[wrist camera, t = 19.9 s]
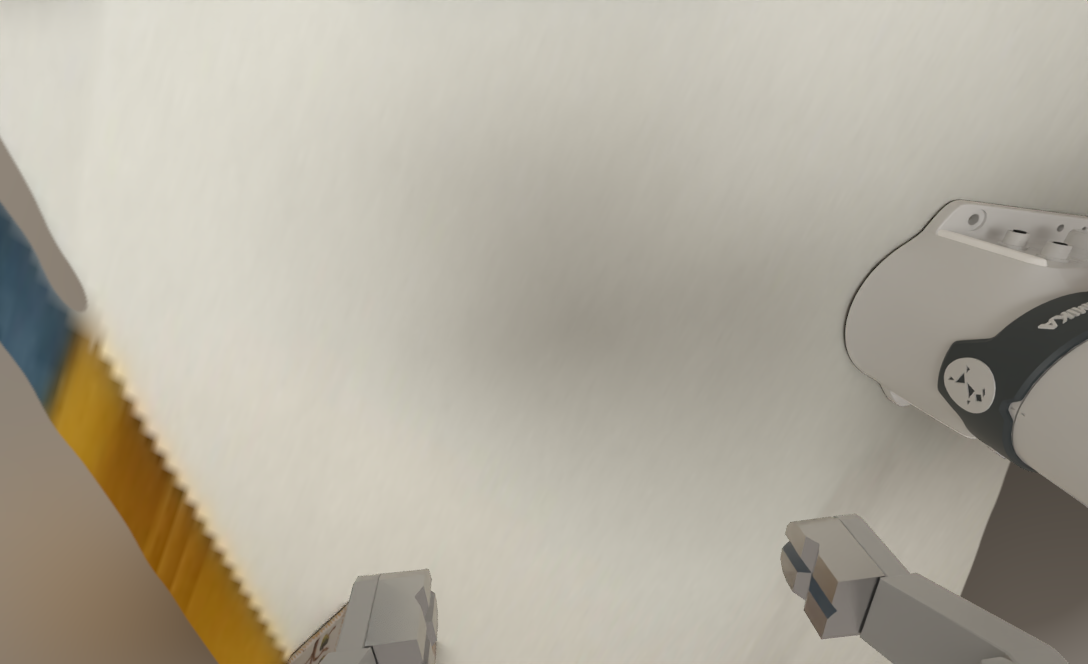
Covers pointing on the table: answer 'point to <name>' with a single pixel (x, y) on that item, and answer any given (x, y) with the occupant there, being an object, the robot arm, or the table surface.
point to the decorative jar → (324, 642)
